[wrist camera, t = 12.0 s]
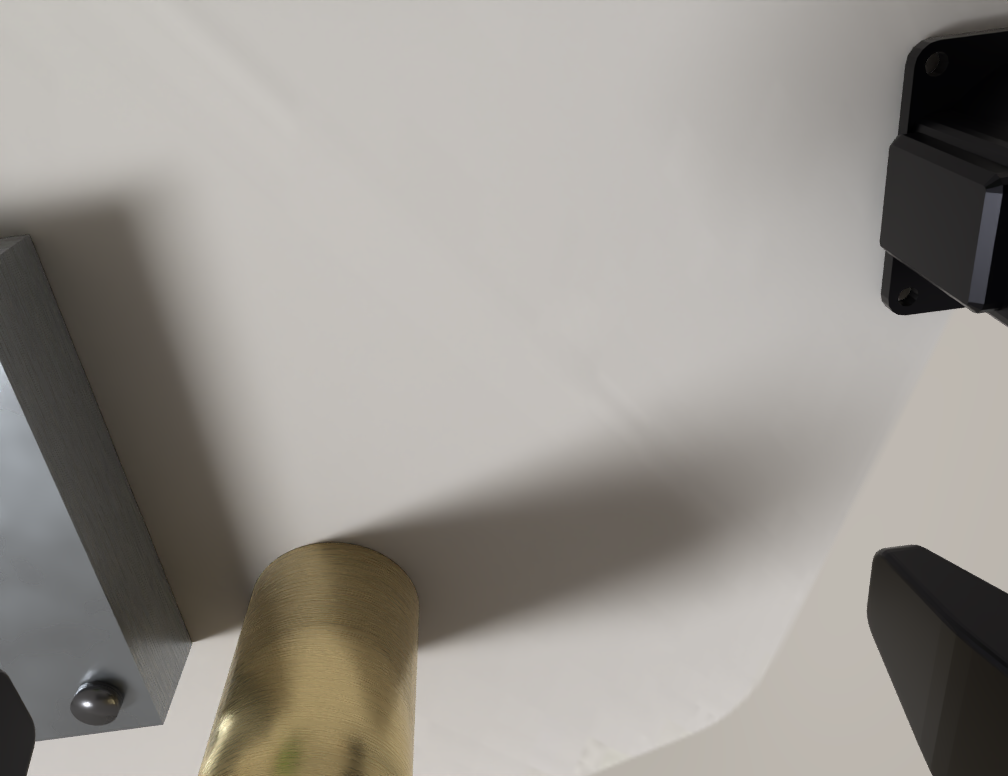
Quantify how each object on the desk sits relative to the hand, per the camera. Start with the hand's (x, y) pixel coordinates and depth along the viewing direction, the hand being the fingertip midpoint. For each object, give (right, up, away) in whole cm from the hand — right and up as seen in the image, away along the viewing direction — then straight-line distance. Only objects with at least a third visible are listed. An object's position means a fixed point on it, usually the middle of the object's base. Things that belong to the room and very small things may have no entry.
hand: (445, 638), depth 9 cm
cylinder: (-4, -4, +17) cm, 18 cm away
